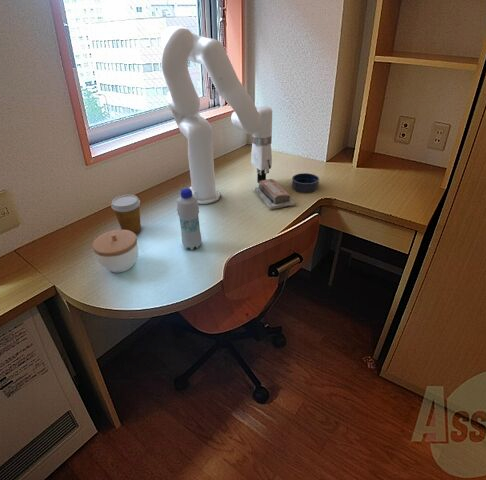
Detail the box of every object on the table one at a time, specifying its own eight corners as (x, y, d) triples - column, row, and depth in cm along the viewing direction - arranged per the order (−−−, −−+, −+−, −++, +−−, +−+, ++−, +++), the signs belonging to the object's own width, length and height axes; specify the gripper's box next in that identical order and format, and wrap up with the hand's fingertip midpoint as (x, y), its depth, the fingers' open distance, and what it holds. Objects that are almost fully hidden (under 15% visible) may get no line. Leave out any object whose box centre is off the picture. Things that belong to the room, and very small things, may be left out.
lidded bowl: (141, 250, 115) (134, 220, 109) (143, 273, 105) (136, 242, 99) (100, 257, 113) (91, 227, 107) (99, 282, 103) (89, 250, 96)
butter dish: (254, 180, 145) (276, 176, 147) (254, 191, 147) (276, 187, 150) (271, 198, 130) (296, 194, 132) (270, 210, 133) (295, 205, 135)
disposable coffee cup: (133, 221, 131) (127, 191, 125) (151, 228, 126) (145, 198, 120) (112, 232, 125) (104, 202, 119) (129, 241, 120) (122, 209, 114)
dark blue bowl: (301, 195, 142) (301, 186, 140) (286, 185, 150) (287, 176, 148) (323, 189, 145) (324, 180, 143) (308, 180, 154) (309, 171, 152)
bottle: (202, 239, 119) (197, 184, 108) (202, 250, 113) (196, 193, 102) (182, 240, 119) (175, 185, 108) (181, 252, 113) (173, 195, 102)
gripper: (245, 136, 147) (246, 178, 157) (262, 146, 135) (261, 191, 145) (261, 133, 149) (261, 174, 159) (279, 143, 137) (278, 187, 147)
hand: (261, 182), depth 152 cm, fingers closed
